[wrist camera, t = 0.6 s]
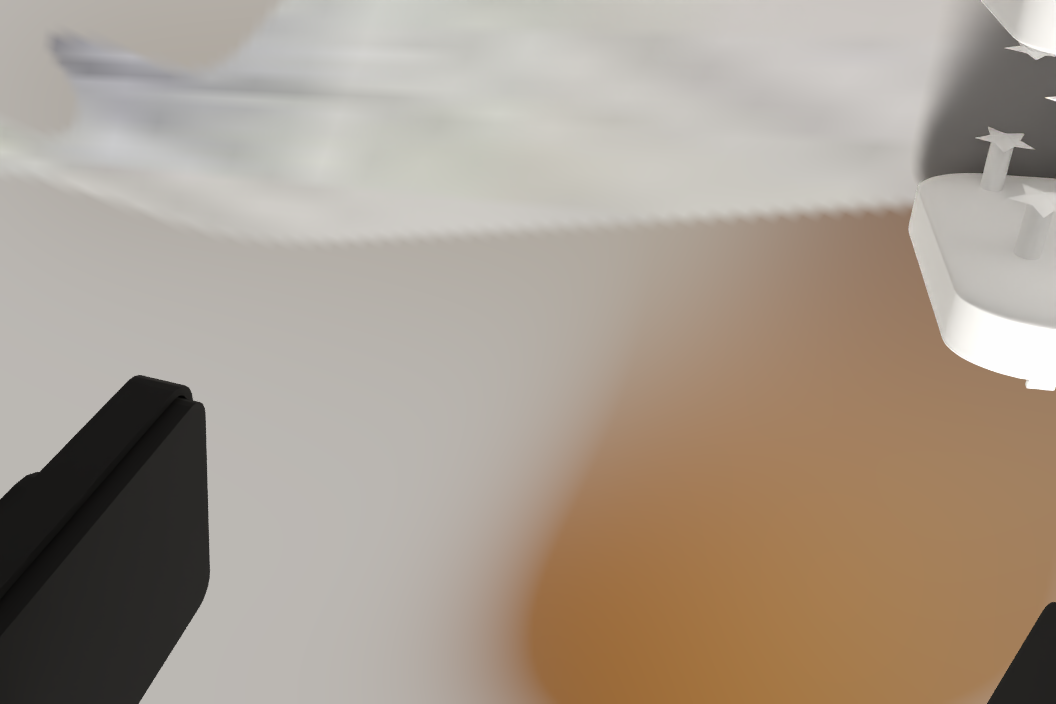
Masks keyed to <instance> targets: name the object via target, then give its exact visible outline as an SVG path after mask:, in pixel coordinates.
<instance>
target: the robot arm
mask: <svg viewBox="0 0 1056 704" xmlns="http://www.w3.org/2000/svg"><path fill="white" fill-rule="evenodd" d="M208 526H209V525H208V490H207V455H206V420H205V408H204V406H203V404H202V403H200V402H196V401H193V398H192V393H191V391H190V389H189V388H188V387H187V386H185V385H181V384H176V383H172V382H168V381H163V380H159V379H155V378H150V377H146V376H142V375H138V376H134V377H133V378H131V379H130V380H129V381H128V382H127V383H126V384H125V385H124V386H123V387H122V388H121V389H120V390H119V391H118V392H117V393H116V394H115V395H114V396H113V397H112V398H111V399H110V400H109V401H108V402H107V403H106V404H105V405H104V406H103V407H102V408H101V409H100V410H99V411H98V413H96V415H95V416H94V417H93V418H92V419H91V420H90V421H89V422H88V423H87V424H86V425H85V426H84V427H83V428H82V429H81V430H80V431H79V432H78V433H77V434H76V435H75V436H74V437H73V438H72V439H71V440H70V441H69V442H68V443H67V444H66V445H65V447H64V448H63V449H62V450H61V451H60V452H59V453H58V454H57V455H56V456H55V457H54V458H53V459H52V460H51V461H50V462H49V463H48V464H47V465H46V466H45V467H44V468H43V469H42V470H41V471H40V472H36V473H33V474H30V475H27V476H25V477H24V478H23V479H22V480H20V481H19V482H18V483H17V484H15V485H14V486H13V487H12V488H11V489H10V490H9V491H8V493H6V494H5V495H4V496H3V498H1V499H0V704H139V702H140V700H141V699H142V697H143V696H144V694H145V693H146V691H147V689H148V688H149V686H150V685H151V683H152V681H153V680H154V678H155V677H156V675H157V673H158V672H159V670H160V669H161V667H162V666H163V664H164V662H165V661H166V659H167V658H168V656H169V654H170V653H171V651H172V650H173V648H174V646H175V645H176V643H177V642H178V640H179V639H180V637H181V635H182V634H183V632H184V630H185V629H186V627H187V626H188V624H189V623H190V621H191V619H192V618H193V616H194V615H195V613H196V612H197V610H198V608H199V607H200V605H201V603H202V601H203V599H204V596H205V594H206V590H207V587H208V582H209V577H210V576H209V575H210V564H209V563H210V562H209V527H208ZM987 704H1056V602H1052V603H1050V604H1048V605H1047V606H1046V607H1045V609H1044V610H1043V612H1042V613H1041V615H1040V616H1039V618H1038V620H1037V622H1036V623H1035V625H1034V626H1033V628H1032V630H1031V632H1030V633H1029V635H1028V636H1027V638H1026V640H1025V641H1024V643H1023V645H1022V646H1021V648H1020V650H1019V651H1018V653H1017V655H1016V656H1015V658H1014V660H1013V661H1012V663H1011V665H1010V666H1009V668H1008V670H1007V671H1006V673H1005V675H1004V677H1003V678H1002V680H1001V681H1000V683H999V685H998V686H997V688H996V690H995V691H994V693H993V695H992V696H991V698H990V700H989V701H988V703H987Z"/></svg>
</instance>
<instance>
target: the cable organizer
mask: <svg viewBox="0 0 1056 704" xmlns="http://www.w3.org/2000/svg"><path fill="white" fill-rule="evenodd" d="M981 2H982V3H983V4H984V5H985V6H986V7H987V8H988V9H989V11H990V12H991V13H992V14H993V15H994V16H995V17H996V18H997V20H998V21H999V22H1000V23H1001V24H1002V25H1003V26H1004V28H1005V29H1006V30H1007V31H1008V32H1009V33H1010V34H1011V35H1012V37H1013V38H1015V39H1016V40H1017V41H1018V42H1019V44H1020V46H1014V47H1007V48H1006V49H1010V50H1014V51H1019V52H1023V53H1027V54H1029V55H1030V56H1031V57H1033V58H1034V59H1035V60H1038V59H1040V58H1042V57H1044V56H1051V57H1056V0H981ZM1044 98H1048V99H1051V100H1054V101H1056V96H1054V97H1044ZM988 129H989V133H990V135H986V136H981V137H975V138H977V139H981V140H985V141H989V142H991V144H990V147H989V151H988V155H987V159H986V163H985V167H984V171H983V173H956V174H946V175H940V176H935V177H931V178H929V179H926V180H924V181H922V182H921V183H920V184H919V185H918V187H917V191H916V195H915V200H914V204H913V209H912V214H911V218H910V223H909V227H908V230H909V234H910V237H911V241H912V244H913V247H914V250H915V253H916V256H917V260H918V262H919V266H920V269H921V272H922V275H923V279H924V282H925V285H926V288H927V291H928V294H929V298H930V301H931V304H932V307H933V310H934V313H935V316H936V320H937V323H938V326H939V329H940V332H941V336H942V339H943V341H944V342H945V344H946V345H947V346H948V347H949V348H950V349H951V350H952V351H953V352H955V353H956V354H957V355H959V356H960V357H962V358H964V359H966V360H967V361H969V362H972V363H974V364H976V365H979V366H981V367H983V368H986V369H989V370H992V371H995V372H998V373H1001V374H1005V375H1009V376H1013V377H1017V378H1021V379H1027V381H1026V387H1027V388H1033V389H1043V390H1052V391H1054V390H1055V387H1056V179H1055V178H1041V177H1027V176H1013V175H1007V171H1008V167H1009V163H1010V160H1011V156H1012V152H1013V148H1014V147H1020V148H1027V149H1034V148H1032V147H1031V146H1029V145H1027V144H1025V143H1024V142H1022V141H1021V139H1022V137H1023V136H1024V134H1025V133H1009V134H1006V133H1003V132H1001V131H998V130H996V129H993V128H991V127H988ZM1034 150H1036V149H1034Z"/></svg>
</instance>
